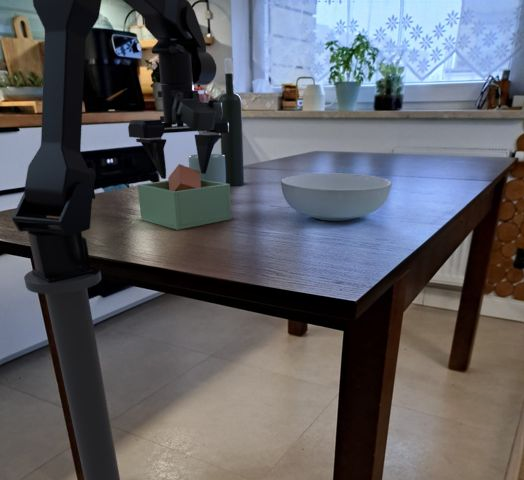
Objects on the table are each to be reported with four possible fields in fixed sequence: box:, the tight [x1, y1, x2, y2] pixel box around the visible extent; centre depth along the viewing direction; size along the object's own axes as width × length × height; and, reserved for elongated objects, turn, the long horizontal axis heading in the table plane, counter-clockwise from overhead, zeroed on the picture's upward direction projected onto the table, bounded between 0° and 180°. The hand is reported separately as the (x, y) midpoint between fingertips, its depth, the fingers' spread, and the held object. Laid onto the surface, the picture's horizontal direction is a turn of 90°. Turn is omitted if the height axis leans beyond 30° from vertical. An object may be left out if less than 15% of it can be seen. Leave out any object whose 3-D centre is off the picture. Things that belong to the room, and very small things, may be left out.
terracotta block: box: [167, 163, 201, 191], centre depth 101 cm, size 4×4×4 cm
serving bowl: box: [280, 172, 393, 222], centre depth 100 cm, size 21×21×7 cm
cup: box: [188, 153, 226, 183], centre depth 115 cm, size 8×8×10 cm
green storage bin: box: [136, 179, 232, 231], centre depth 100 cm, size 13×13×7 cm
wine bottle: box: [218, 57, 245, 187], centre depth 134 cm, size 6×6×30 cm
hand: (184, 176), depth 99 cm, fingers open, 9 cm apart
